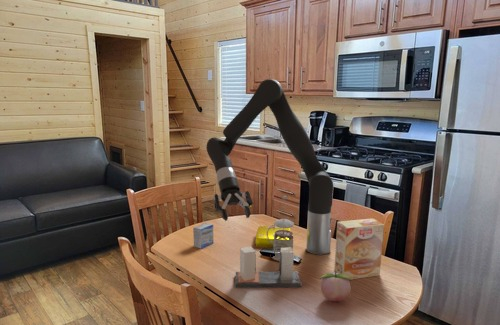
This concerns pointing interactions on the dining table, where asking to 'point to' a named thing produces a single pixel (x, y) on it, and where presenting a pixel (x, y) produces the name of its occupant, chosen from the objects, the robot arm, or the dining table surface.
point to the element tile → (262, 236)
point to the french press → (282, 235)
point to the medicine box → (203, 235)
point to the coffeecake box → (359, 248)
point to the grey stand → (274, 274)
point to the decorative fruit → (335, 286)
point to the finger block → (247, 263)
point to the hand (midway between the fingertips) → (237, 218)
